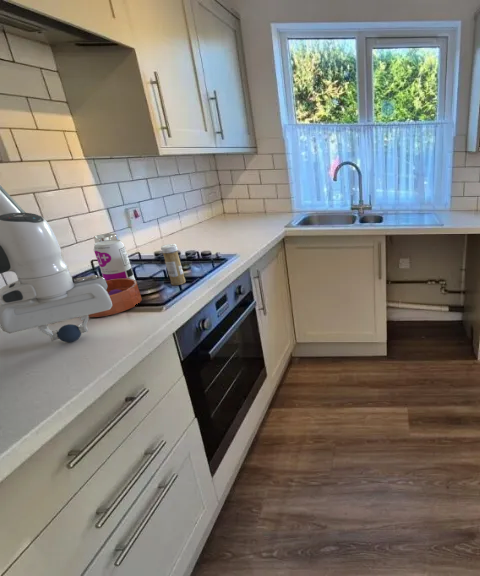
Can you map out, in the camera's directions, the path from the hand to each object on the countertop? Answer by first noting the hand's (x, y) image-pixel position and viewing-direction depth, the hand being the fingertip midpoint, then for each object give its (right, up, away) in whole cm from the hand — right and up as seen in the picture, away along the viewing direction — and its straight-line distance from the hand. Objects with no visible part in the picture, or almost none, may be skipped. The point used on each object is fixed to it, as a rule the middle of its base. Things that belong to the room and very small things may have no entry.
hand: (70, 335), depth 89 cm
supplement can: (-12, +13, +34) cm, 38 cm away
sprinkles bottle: (+7, +13, +34) cm, 38 cm away
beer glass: (-19, +16, +43) cm, 50 cm away
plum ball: (-3, +7, +18) cm, 20 cm away
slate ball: (0, -1, +1) cm, 2 cm away
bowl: (-4, +6, +18) cm, 20 cm away
